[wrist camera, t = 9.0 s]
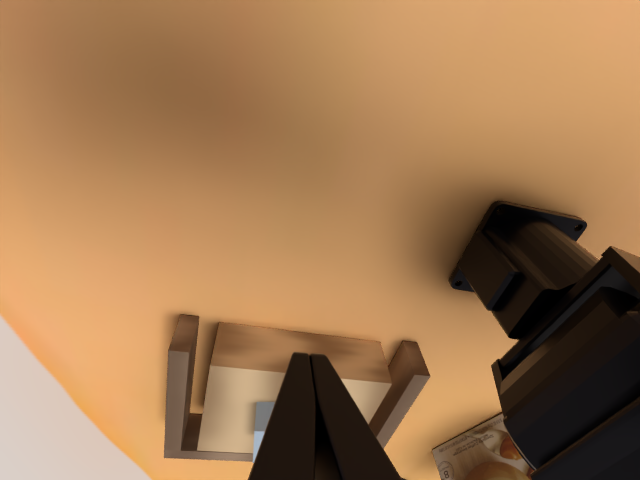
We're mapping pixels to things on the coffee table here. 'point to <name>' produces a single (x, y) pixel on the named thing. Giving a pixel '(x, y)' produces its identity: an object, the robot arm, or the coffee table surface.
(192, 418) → the dock bay
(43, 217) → the coffee table surface
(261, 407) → the light blue square block
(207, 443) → the beige rectangular block
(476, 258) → the robot arm
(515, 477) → the coffee box
